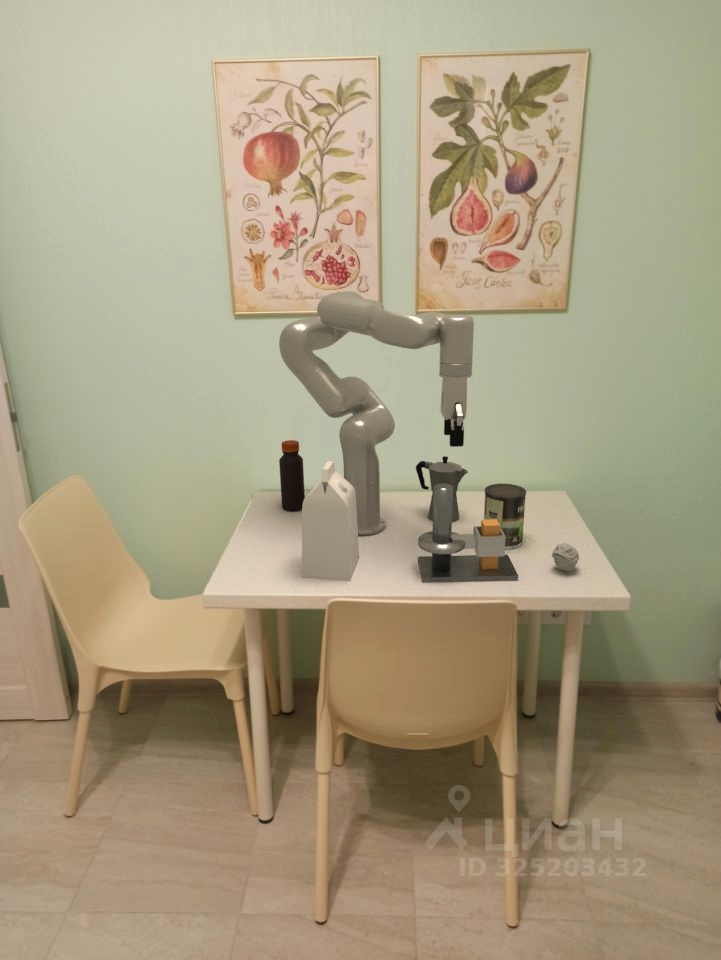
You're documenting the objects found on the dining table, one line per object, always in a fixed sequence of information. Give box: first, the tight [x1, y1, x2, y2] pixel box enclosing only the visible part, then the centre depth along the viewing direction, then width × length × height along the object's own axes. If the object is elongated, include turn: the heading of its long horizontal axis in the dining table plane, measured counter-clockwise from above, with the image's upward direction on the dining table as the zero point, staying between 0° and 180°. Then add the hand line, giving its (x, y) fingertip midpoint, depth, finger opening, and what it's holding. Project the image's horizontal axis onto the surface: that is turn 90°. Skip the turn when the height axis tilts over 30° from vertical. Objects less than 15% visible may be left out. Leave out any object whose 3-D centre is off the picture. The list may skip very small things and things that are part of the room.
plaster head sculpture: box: [551, 542, 580, 572], centre depth 159 cm, size 6×7×7 cm
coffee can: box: [483, 483, 527, 550], centre depth 174 cm, size 10×10×14 cm
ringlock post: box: [417, 484, 519, 583], centre depth 158 cm, size 22×11×21 cm, turn 91°
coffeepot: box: [415, 456, 469, 524], centre depth 189 cm, size 15×9×18 cm, turn 59°
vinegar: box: [278, 439, 306, 512], centre depth 197 cm, size 7×7×20 cm
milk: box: [301, 460, 360, 582], centre depth 159 cm, size 12×12×26 cm
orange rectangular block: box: [479, 519, 500, 569], centre depth 159 cm, size 4×4×11 cm
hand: (453, 440), depth 164 cm, fingers open, 9 cm apart
